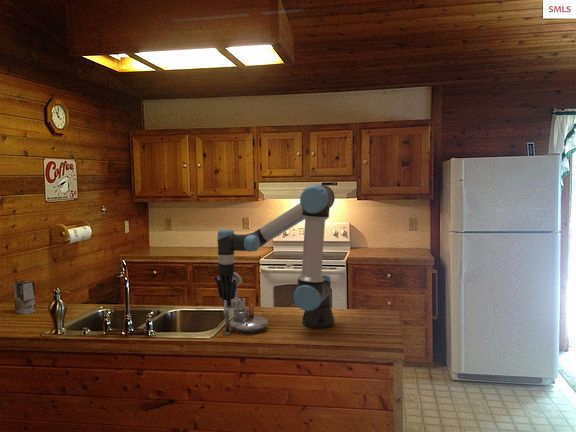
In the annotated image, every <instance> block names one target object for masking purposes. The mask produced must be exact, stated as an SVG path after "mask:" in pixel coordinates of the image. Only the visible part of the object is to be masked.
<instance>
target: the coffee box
mask: <svg viewBox="0 0 576 432" xmlns="http://www.w3.org/2000/svg"><path fill="white" fill-rule="evenodd" d="M35 285H36V284H35V281H30V280H20V281H16V282H13V292H14V295H13V296H14V308H15V313H17V314H20V315H29V314H33V313H36V312H37V310H36V309H37V306H36V287H35Z"/></svg>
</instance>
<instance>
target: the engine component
mask: <svg viewBox="0 0 576 432" xmlns="http://www.w3.org/2000/svg"><path fill="white" fill-rule="evenodd" d="M234 277H236V279H238V280H239V281H238V283H237V287H236V292H235V298H233V299H231V307H233V308H234V310H237V309H238V308H244V309H246V298H244V297H243V298H242V299H241V298H240V297H239V294H238V287H239V286H240V285H241V284H243V278H242V276H240V275H239V274H238V273H237V272H235V271H234Z"/></svg>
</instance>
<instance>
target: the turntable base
mask: <svg viewBox="0 0 576 432" xmlns="http://www.w3.org/2000/svg"><path fill="white" fill-rule="evenodd" d="M262 331H263V328H261V329H256V330H238V329H235V332H237V333H240V334H246V335H247V334H249V335H250V334H256V333H261V332H262Z"/></svg>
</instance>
